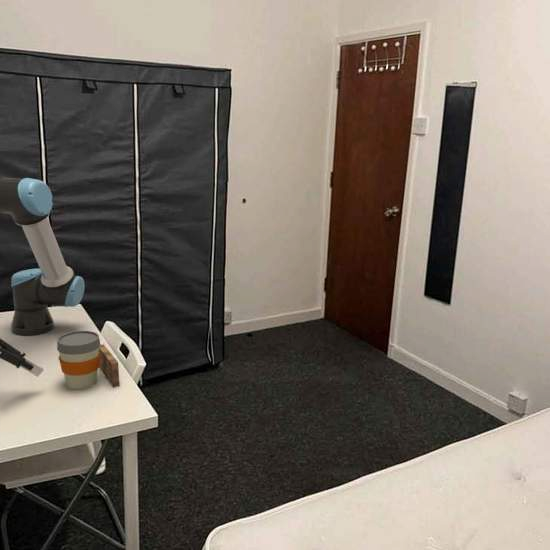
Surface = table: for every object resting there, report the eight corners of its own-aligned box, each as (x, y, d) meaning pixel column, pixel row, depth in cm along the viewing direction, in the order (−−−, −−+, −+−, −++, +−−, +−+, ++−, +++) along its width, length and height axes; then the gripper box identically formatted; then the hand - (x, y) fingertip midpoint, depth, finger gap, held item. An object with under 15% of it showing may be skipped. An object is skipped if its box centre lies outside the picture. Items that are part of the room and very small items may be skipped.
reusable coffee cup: (58, 393, 164) (53, 347, 160) (62, 375, 176) (58, 331, 172) (101, 389, 167) (98, 344, 163) (103, 372, 179) (100, 329, 175)
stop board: (98, 367, 182) (97, 345, 180) (104, 366, 183) (103, 344, 181) (113, 387, 169) (111, 363, 167) (119, 385, 170) (118, 362, 168)
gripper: (-42, 332, 155) (27, 374, 168) (-38, 349, 144) (35, 391, 158) (-23, 312, 156) (44, 354, 170) (-18, 326, 146) (53, 370, 159)
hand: (40, 372), depth 164 cm, fingers closed
